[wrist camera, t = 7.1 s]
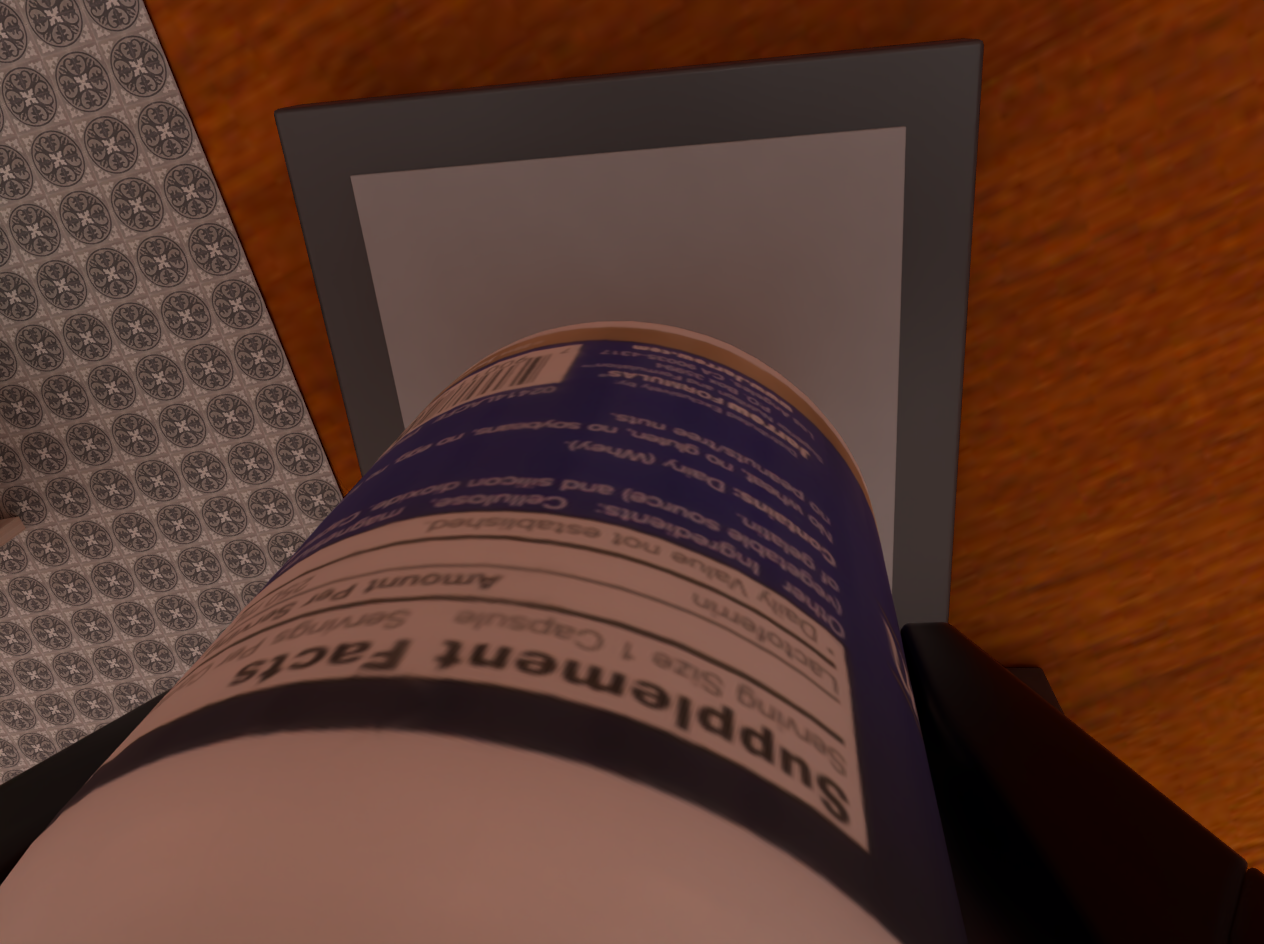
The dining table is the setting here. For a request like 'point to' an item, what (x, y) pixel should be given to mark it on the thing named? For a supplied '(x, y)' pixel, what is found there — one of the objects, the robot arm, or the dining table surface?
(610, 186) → the tray
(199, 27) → the dining table surface
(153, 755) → the pill bottle
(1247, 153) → the dining table surface
